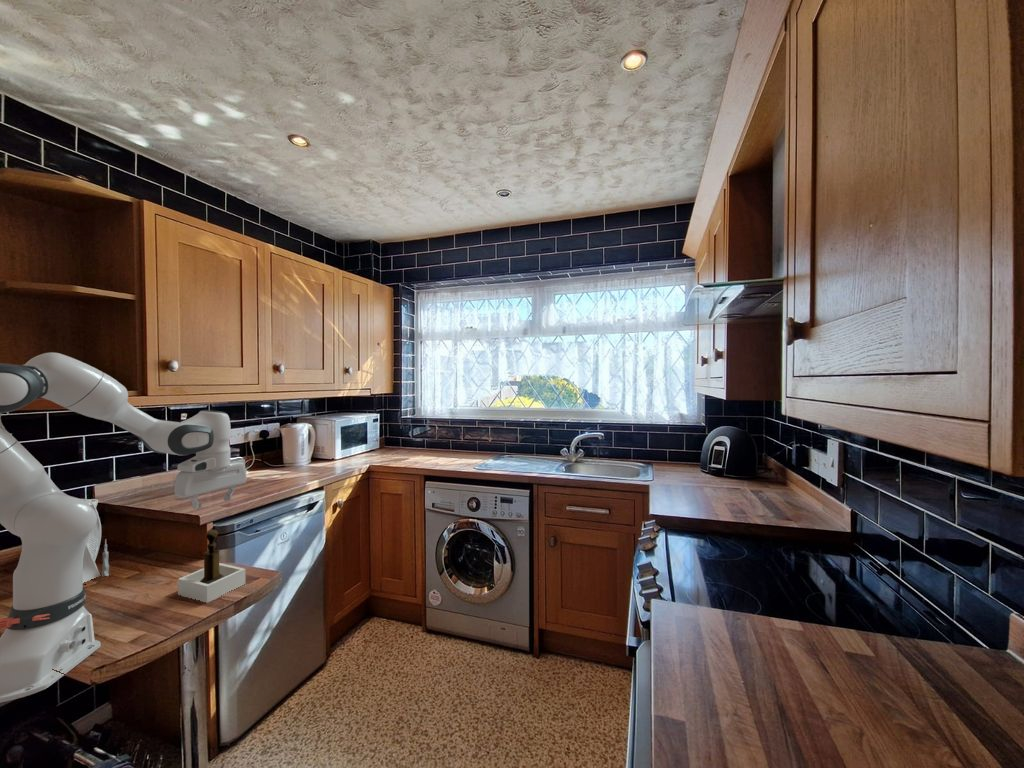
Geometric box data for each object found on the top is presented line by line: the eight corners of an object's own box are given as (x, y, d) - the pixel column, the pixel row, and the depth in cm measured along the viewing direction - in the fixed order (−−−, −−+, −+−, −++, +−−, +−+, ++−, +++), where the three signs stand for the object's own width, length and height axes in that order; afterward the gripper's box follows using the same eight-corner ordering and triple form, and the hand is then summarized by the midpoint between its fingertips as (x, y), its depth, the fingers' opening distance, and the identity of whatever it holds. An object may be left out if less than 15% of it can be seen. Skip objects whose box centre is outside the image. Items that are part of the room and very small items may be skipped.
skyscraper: (80, 588, 129) (80, 500, 129) (60, 585, 131) (60, 499, 130) (110, 575, 138) (111, 493, 137) (91, 573, 139) (91, 492, 139)
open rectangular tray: (207, 603, 121) (207, 586, 121) (178, 594, 125) (178, 578, 125) (245, 584, 132) (245, 568, 132) (217, 577, 137) (217, 562, 137)
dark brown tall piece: (203, 583, 131) (203, 527, 130) (226, 580, 133) (227, 525, 133) (195, 593, 124) (195, 535, 124) (220, 589, 127) (221, 532, 127)
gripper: (238, 455, 139) (237, 495, 140) (171, 466, 120) (170, 512, 120) (251, 456, 137) (250, 497, 137) (185, 467, 118) (185, 515, 118)
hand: (212, 504), depth 129 cm, fingers open, 8 cm apart
